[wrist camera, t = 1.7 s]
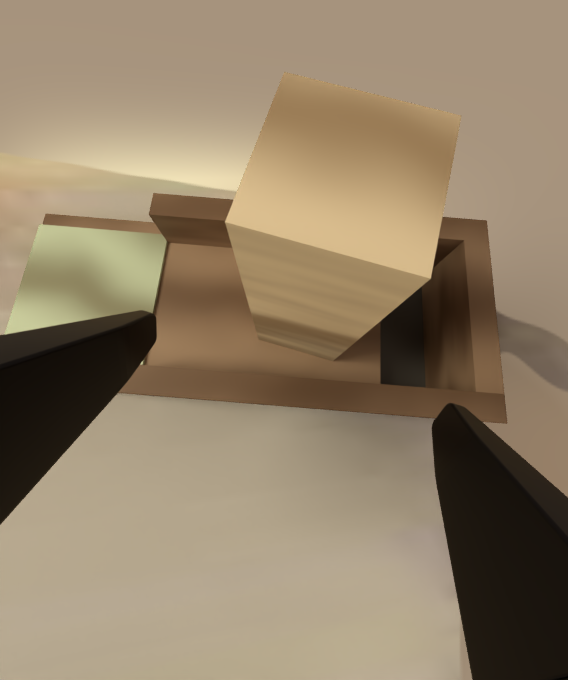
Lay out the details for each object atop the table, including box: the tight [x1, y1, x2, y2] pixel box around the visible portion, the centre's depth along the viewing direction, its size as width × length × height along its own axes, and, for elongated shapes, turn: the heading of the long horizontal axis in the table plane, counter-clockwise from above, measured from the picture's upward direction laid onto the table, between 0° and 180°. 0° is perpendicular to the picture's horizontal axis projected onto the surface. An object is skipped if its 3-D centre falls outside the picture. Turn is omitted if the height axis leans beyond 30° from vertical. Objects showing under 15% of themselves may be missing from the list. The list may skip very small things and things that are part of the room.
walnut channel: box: [4, 193, 507, 423], centre depth 19 cm, size 12×30×6 cm, turn 86°
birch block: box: [225, 72, 461, 361], centre depth 13 cm, size 5×5×12 cm
